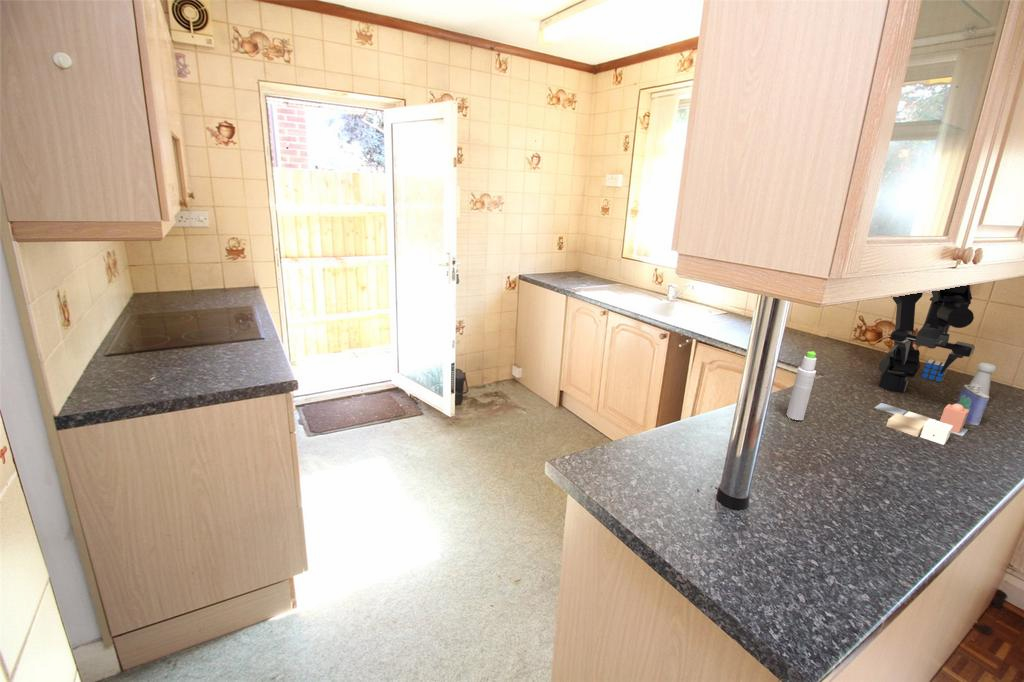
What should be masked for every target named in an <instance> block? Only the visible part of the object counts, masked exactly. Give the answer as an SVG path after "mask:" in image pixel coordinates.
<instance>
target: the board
mask: <svg viewBox="0 0 1024 682" xmlns="http://www.w3.org/2000/svg"><path fill="white" fill-rule="evenodd" d="M873 408H874V409H877V410H879V411H880V410H881V411H883V412H887V413H889V414H892V415H894V414H896V413H898V414H901V415H904V416H907V417H910V418H913V419H916V420H919V421H923V422H927V421H928V419H932V420H936V419H934V418H931V417H928V416H925V415H922V414H919V413H915V412H913V411H909V410H908V411H907V410H906V409H902V408H899V407H896V406H893V405H890V404H886V403H883V402H880V403H879V404H877V405H876V406H874V407H873ZM938 421H939V422H940V420H938ZM967 432H968V429H967V428H964V427H963V428H962V430H961V431H960V432H959V433H956V432H952V431H951V433H950V434H954V435H957V436H958V435H959V436H961V437H963V436H964V435H965V434H967Z"/></svg>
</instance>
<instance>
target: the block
mask: <svg viewBox="0 0 1024 682" xmlns="http://www.w3.org/2000/svg"><path fill="white" fill-rule="evenodd" d="M904 415H905V414H903V415H901V414H898V413H896V414H892V416H891V417H889V418H888V420H887V421H886V422H887V423H886V427H888V428H889V429H892V430H896V431H899V432H902V433H905V434H908V435H911V436H912V437H920V436H921V433H922V430H923V427H924V424H925V423H926V422H923V421H919V420H916V419H913V418H910V417H907V416H904Z"/></svg>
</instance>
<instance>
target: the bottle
mask: <svg viewBox="0 0 1024 682" xmlns="http://www.w3.org/2000/svg"><path fill="white" fill-rule="evenodd" d="M816 355H817V353H816V352H815V351H807V352H806V355H804V356H803V359H802V362H801V366H799V367H798V368H797V372H796V375H795V379H794V383H793V387H792V391H791V393H790V394H791V395H790V400H789V403H788V405H787V406H788V407H787V410H786V414H785V416H786V415H787V416H788V417H790V418H792V419H795V420H803V421H804V418H805V415H806V412H807V411H806V410H807V407H808V404H809V399H810V397H811V392H812V389H813V385H814V381H815V377H816V374H817V370H815V367H816V364H817V363H816V362H817V357H816Z"/></svg>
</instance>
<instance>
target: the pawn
mask: <svg viewBox="0 0 1024 682" xmlns="http://www.w3.org/2000/svg"><path fill="white" fill-rule="evenodd" d="M968 413H969V410H968V409H964V407H963V406H962V405H960V404H956V403H954V404H951V403H948V404H947V405H946V406H945V407H944V408H943V412H942V413H941V417H940V420H939V421H940V422H942V423H945V424H949V425H952V426H953V428H952V430H951V431H952V432H956V433H959V432H960V431H961V430H962V428H964V426H965V424H966V423H965V422H967V421H966V418H967V415H968Z"/></svg>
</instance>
